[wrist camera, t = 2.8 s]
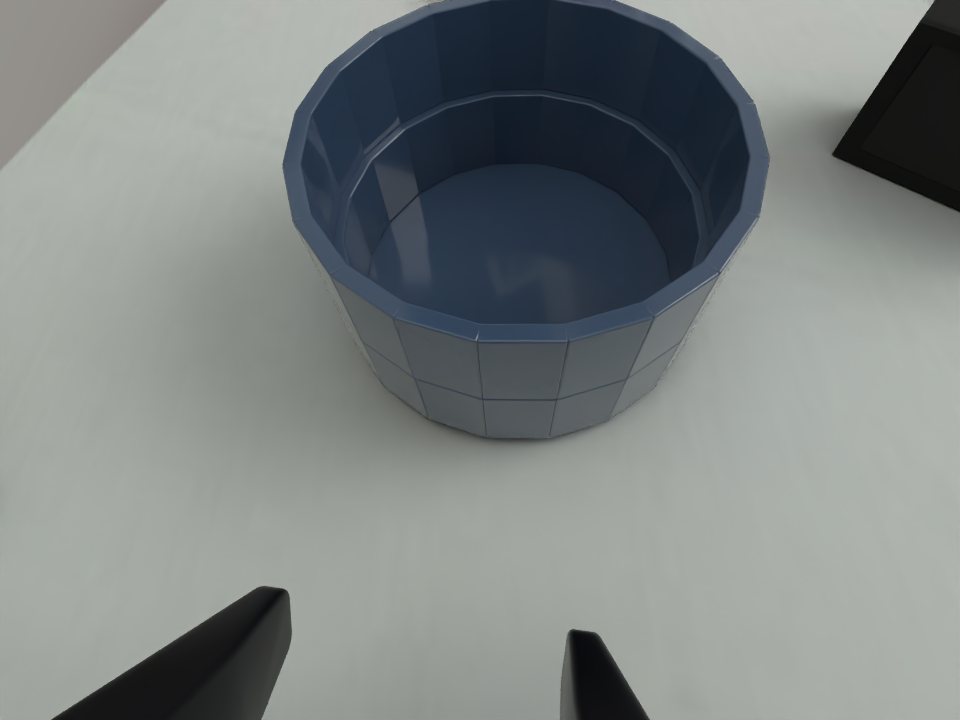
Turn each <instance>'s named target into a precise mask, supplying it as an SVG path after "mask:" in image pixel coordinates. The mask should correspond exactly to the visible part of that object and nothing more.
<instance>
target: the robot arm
mask: <svg viewBox="0 0 960 720" xmlns="http://www.w3.org/2000/svg"><path fill="white" fill-rule="evenodd" d="M291 636H292V628H291V612H290V597H289V594H288V592H287V590H285V589H282V588H275V587H268V586H261V587H258V588H256V589H254V590H253V591H251V592H250V593H248V594H247V595H245V596H243V597H242V598H240V599H239V600H237V601H236V602H234V603H232V604H231V605H229V606H228V607H226V608H225V609H223V610H222V611H220V612H218V613H217V614H215V615H214V616H212V617H211V618H209V619H207V620H206V621H204V622H203V623H201V624H200V625H198V626H197V627H195V628H193V629H192V630H190V631H189V632H187V633H186V634H184V635H182V636H181V637H179V638H178V639H176V640H175V641H173V642H172V643H170V644H168V645H167V646H165V647H164V648H162V649H161V650H159V651H157V652H156V653H154V654H153V655H151V656H150V657H148V658H147V659H145V660H143V661H142V662H140V663H139V664H137V665H136V666H134V667H132V668H131V669H129V670H128V671H126V672H125V673H123V674H122V675H120V676H118V677H117V678H115V679H114V680H112V681H111V682H109V683H107V684H106V685H104V686H103V687H101V688H100V689H98V690H97V691H95V692H93V693H92V694H90V695H89V696H87V697H86V698H84V699H82V700H81V701H79V702H78V703H76V704H75V705H73V706H72V707H70V708H68V709H67V710H65V711H64V712H62V713H61V714H59V715H57V716H56V717H54V718H53V719H51V720H261V719H262V716H263V714H264V711H265V709H266V706H267V704H268V701H269V698H270V696H271V693H272V691H273V688H274V686H275V683H276V681H277V678H278V675H279V673H280V670H281V668H282V665H283V663H284V660H285V658H286V655H287V652H288V650H289V646H290V642H291ZM560 720H650V719H649V718H648V716H647V714H646V713H645V711H644V709H643V708H642V706H641V704H640V703H639V701H638V699H637V698H636V696H635V694H634V693H633V691H632V689H631V688H630V686H629V684H628V683H627V681H626V679H625V678H624V676H623V674H622V673H621V671H620V669H619V668H618V666H617V664H616V662H615V661H614V659H613V657H612V656H611V654H610V652H609V651H608V649H607V647H606V646H605V644H604V642H603V641H602V639H601V637H600V636H599V635H598V634H597V633H595V632H589V631H582V630H575V629H572V630H570V631H569V632H568V635H567V640H566V647H565V655H564V662H563V669H562V677H561V697H560Z"/></svg>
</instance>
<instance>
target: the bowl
mask: <svg viewBox="0 0 960 720" xmlns="http://www.w3.org/2000/svg"><path fill="white" fill-rule="evenodd" d="M768 167H769V153H768V149H767V146H766V142H765V138H764V135H763V131H762V127H761V124H760V120H759V116H758V112H757V109H756V105H755V104H754V101H753V100H752V99H751V97H750V96H749V95H748V93H747V92H746V91H745V89H744V88H743V87H742V85H741V84H740V83H739V82H738V80H737V79H736V78H735V76H734V75H733V74H732V72H731V71H730V70H729V68H728V67H727V66H726V64H725V63H724V62H723V60H722V59H721V58H719V56H718V55H716V54H715V53H714V52H712V51H711V50H709V49H708V48H707V47H705V46H704V45H702V44H701V43H700V42H698V41H697V40H695V39H694V38H693V37H691V36H690V35H688V34H687V33H686V32H684V31H683V30H681V29H680V28H679V27H677V26H676V25H674V24H673V23H670V22H669V21H667V20H664V19H662V18H659V17H657V16H654V15H651V14H649V13H646V12H644V11H641V10H639V9H636V8H634V7H631V6H628V5H626V4H623V3H621V2H618V1H616V0H447V1H442V2H438V3H433V4H429V5H428V6H424V7H421V8H419V9H417V10H415V11H413V12H411V13H408V14H406V15H404V16H402V17H400V18H398V19H395V20H393V21H391V22H389V23H387V24H385V25H382V26H380V27H378V28H376V29H374V30H373V31H370V32H369V33H368V34H366V35H365V36H364V37H363V38H361V39H360V40H359V41H358V42H356V43H355V44H354V45H353V46H351V47H350V48H349V49H348V50H346V51H345V52H344V53H343V54H341V55H340V56H339V57H338V58H336V59H335V60H334V61H333V62H331V63H330V64H329V65H328V66H327V67H326V68H325V69H324V70H323V72H322V73H321V75H320V76H319V78H318V79H317V81H316V82H315V84H314V85H313V86H312V88H311V89H310V91H309V92H308V94H307V95H306V97H305V98H304V100H303V101H302V102H301V104H300V105H299V107H298V108H297V110H296V112H295V114H294V118H293V122H292V127H291V131H290V135H289V139H288V143H287V147H286V152H285V156H284V160H283V173H284V178H285V184H286V189H287V194H288V200H289V205H290V210H291V215H292V221H293V223H294V226H295V227H296V229H297V231H298V233H299V235H300V237H301V239H302V241H303V243H304V245H305V247H306V249H307V251H308V253H309V255H310V257H311V259H312V261H313V262H314V264H315V266H316V268H317V270H318V272H319V274H320V276H321V278H322V280H323V282H324V284H325V286H326V288H327V290H328V292H329V294H330V295H331V297H332V299H333V301H334V303H335V305H336V307H337V309H338V311H339V313H340V315H341V317H342V319H343V321H344V323H345V325H346V327H347V328H348V330H349V332H350V334H351V336H352V338H353V340H354V342H355V344H356V346H357V347H358V349H359V350H360V352H361V353H362V355H363V356H364V358H365V359H366V361H367V362H368V364H369V365H370V367H371V368H372V370H373V371H374V373H375V374H376V375H377V377H378V378H379V380H380V381H381V383H382V384H383V385H384V387H385V388H387V389H388V390H390V391H391V392H392V393H394V394H395V395H396V396H398V397H399V398H401V399H402V400H403V401H405V402H406V403H407V404H409V405H410V406H411V407H413V408H414V409H416V410H417V411H418V412H420V413H421V414H422V415H424V416H425V417H426V418H428V419H429V418H430V419H431V420H433V421H436V422H440V423H443V424H446V425H449V426H452V427H455V428H458V429H461V430H464V431H467V432H471V433H474V434H477V435H480V436H483V437H486V436H487V437H488V438H553V437H556V436H559V435H563V434H566V433H569V432H573V431H576V430H579V429H583V428H586V427H589V426H592V425H596V424H599V423H602V422H606V421H607V420H610V419H611V418H613V417H614V416H615V415H617V414H618V413H620V412H621V411H622V410H624V409H625V408H627V407H628V406H630V405H631V404H632V403H634V402H635V401H637V400H638V399H639V398H641V397H642V396H644V395H645V394H646V393H648V392H649V391H651V390H652V389H654V387H656V385H657V384H658V382H659V381H660V379H661V378H662V376H663V375H664V373H665V372H666V371H667V369H668V368H669V366H670V365H671V363H672V362H673V360H674V359H675V357H676V356H677V354H678V353H679V352H680V350H681V349H682V347H683V346H684V344H685V342H686V341H687V339H688V337H689V336H690V334H691V332H692V331H693V329H694V327H695V326H696V324H697V322H698V321H699V319H700V317H701V315H702V314H703V312H704V310H705V309H706V307H707V305H708V304H709V302H710V300H711V299H712V297H713V295H714V293H715V292H716V290H717V288H718V287H719V285H720V283H721V282H722V280H723V278H724V277H725V275H726V273H727V272H728V270H729V268H730V267H731V265H732V263H733V262H734V260H735V258H736V257H737V255H738V253H739V251H740V250H741V248H742V246H743V245H744V243H745V241H746V240H747V238H748V236H749V235H750V233H751V231H752V230H753V228H754V226H755V225H756V223H757V221H758V218H759V217H760V212H761V206H762V200H763V195H764V189H765V183H766V178H767V172H768Z"/></svg>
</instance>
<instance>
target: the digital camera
mask: <svg viewBox="0 0 960 720" xmlns="http://www.w3.org/2000/svg"><path fill="white" fill-rule="evenodd" d="M833 155H835V156H837V157H839V158H842V159H844V160H846V161H848V162H851V163H853V164H855V165H858V166H860V167H862V168H864V169H867V170H869V171H871V172H873V173H876V174H878V175H880V176H883V177H885V178H887V179H889V180H892V181H894V182H896V183H898V184H901V185H903V186H905V187H908V188H910V189H912V190H914V191H917V192H919V193H921V194H923V195H926V196H928V197H930V198H933V199H935V200H937V201H939V202H942V203H944V204H946V205H948V206H951V207H953V208H955V209H958V210H960V0H935V1H934V3H933V4H932V5H931V7H930V8H929V10H928V11H927V12H926V14H925V15H924V17H923V18H922V19H921V21H920V22H919V24H918V25H917V27H916V28H915V30H914V31H913V32H912V34H911V35H910V37H909V38H908V40H907V41H906V43H905V44H904V46H903V47H902V49H901V50H900V52H899V53H898V55H897V56H896V58H895V59H894V61H893V62H892V64H891V65H890V67H889V68H888V70H887V72H886V73H885V75H884V76H883V78H882V79H881V81H880V82H879V84H878V85H877V87H876V88H875V90H874V91H873V93H872V94H871V96H870V97H869V99H868V100H867V102H866V103H865V105H864V106H863V108H862V109H861V111H860V112H859V114H858V115H857V117H856V118H855V120H854V121H853V123H852V124H851V126H850V127H849V129H848V130H847V132H846V133H845V135H844V136H843V138H842V139H841V141H840V143H839V144H838V146H837V147H836V149H835V151H834V152H833Z"/></svg>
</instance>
